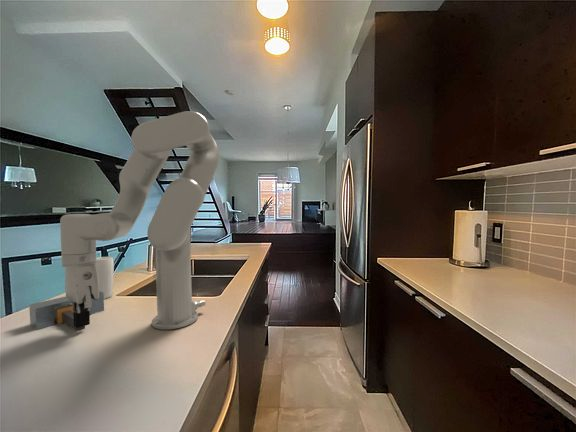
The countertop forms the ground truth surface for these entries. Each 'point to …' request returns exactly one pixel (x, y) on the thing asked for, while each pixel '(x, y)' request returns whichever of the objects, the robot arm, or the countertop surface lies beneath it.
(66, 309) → the plug
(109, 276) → the drinking glass
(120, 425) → the countertop surface
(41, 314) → the housing
